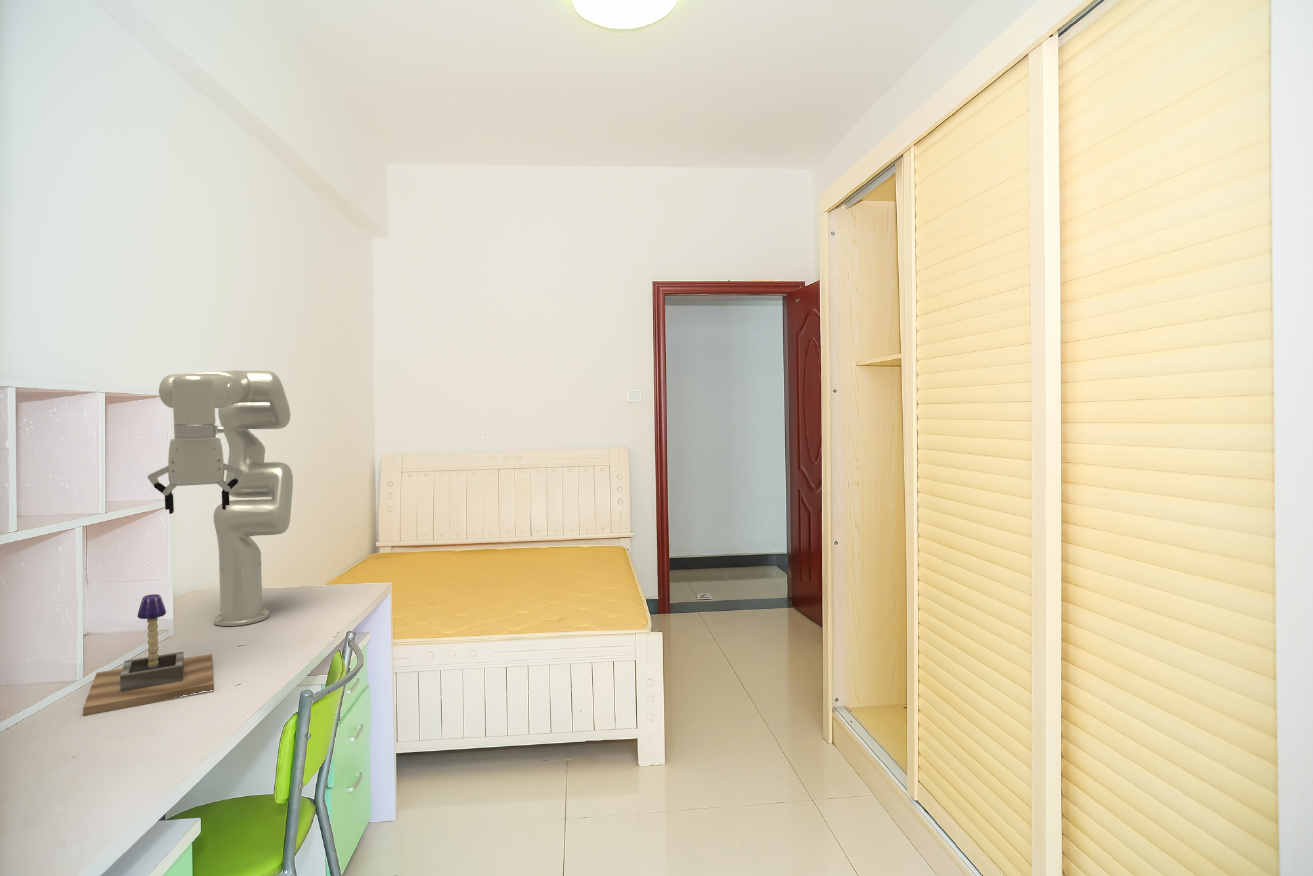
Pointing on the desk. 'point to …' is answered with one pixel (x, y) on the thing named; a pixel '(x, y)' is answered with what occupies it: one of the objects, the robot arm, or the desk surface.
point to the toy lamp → (152, 624)
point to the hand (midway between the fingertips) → (198, 510)
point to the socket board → (149, 682)
